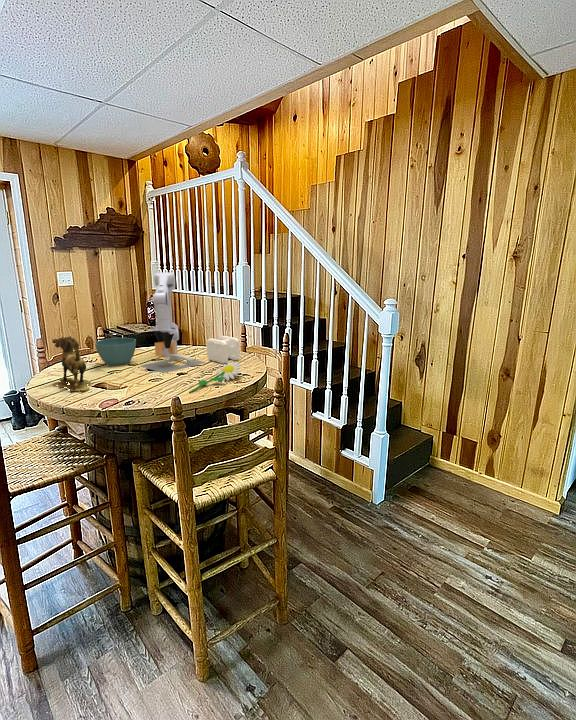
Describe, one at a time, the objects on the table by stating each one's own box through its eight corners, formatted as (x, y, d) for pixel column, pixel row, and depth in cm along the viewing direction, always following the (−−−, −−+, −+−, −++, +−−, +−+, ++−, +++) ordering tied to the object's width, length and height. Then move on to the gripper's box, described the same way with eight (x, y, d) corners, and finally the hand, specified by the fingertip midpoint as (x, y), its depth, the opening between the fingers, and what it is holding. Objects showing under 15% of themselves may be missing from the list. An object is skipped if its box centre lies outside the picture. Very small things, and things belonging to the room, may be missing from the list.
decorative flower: (202, 401, 157) (248, 372, 180) (200, 390, 155) (247, 362, 178) (179, 397, 163) (226, 370, 187) (176, 386, 162) (224, 360, 185)
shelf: (140, 368, 194) (139, 359, 193) (182, 359, 212) (182, 350, 211) (163, 376, 182) (162, 366, 181) (206, 365, 199) (206, 355, 198)
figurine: (81, 376, 183) (75, 331, 178) (100, 389, 165) (93, 340, 160) (49, 382, 175) (41, 335, 170) (65, 396, 157) (57, 344, 152)
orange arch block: (155, 355, 191) (154, 343, 189) (170, 352, 197) (169, 340, 195) (160, 356, 188) (159, 344, 187) (175, 353, 194) (174, 341, 193)
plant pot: (133, 359, 213) (130, 336, 210) (142, 366, 198) (139, 342, 195) (95, 364, 203) (92, 340, 200) (102, 372, 189) (98, 346, 186)
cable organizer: (241, 361, 207) (240, 338, 204) (224, 365, 200) (223, 342, 197) (222, 356, 217) (221, 335, 214) (206, 360, 210) (205, 338, 207)
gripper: (146, 318, 190) (149, 346, 193) (163, 321, 181) (166, 351, 184) (159, 316, 195) (162, 344, 198) (177, 319, 186) (179, 348, 189)
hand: (165, 347), depth 192 cm, fingers closed on orange arch block, 4 cm apart
